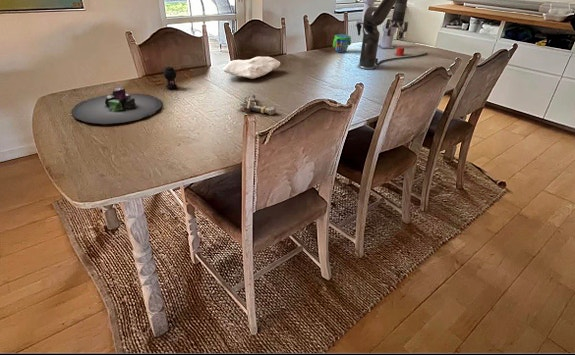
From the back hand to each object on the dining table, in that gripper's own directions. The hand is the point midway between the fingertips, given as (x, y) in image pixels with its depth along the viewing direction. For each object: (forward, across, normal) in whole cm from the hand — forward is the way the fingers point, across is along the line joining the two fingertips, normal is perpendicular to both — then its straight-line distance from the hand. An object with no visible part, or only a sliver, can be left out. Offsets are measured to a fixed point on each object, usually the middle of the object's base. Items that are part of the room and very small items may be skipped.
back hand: (363, 35), depth 257 cm
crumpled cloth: (+8, -87, -59) cm, 105 cm away
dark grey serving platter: (+8, -146, -101) cm, 178 cm away
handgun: (+8, -88, -106) cm, 138 cm away
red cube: (+8, +19, -21) cm, 30 cm away
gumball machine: (+8, -127, -77) cm, 149 cm away
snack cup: (+8, -20, -11) cm, 24 cm away
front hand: (-3, +13, -21) cm, 25 cm away
